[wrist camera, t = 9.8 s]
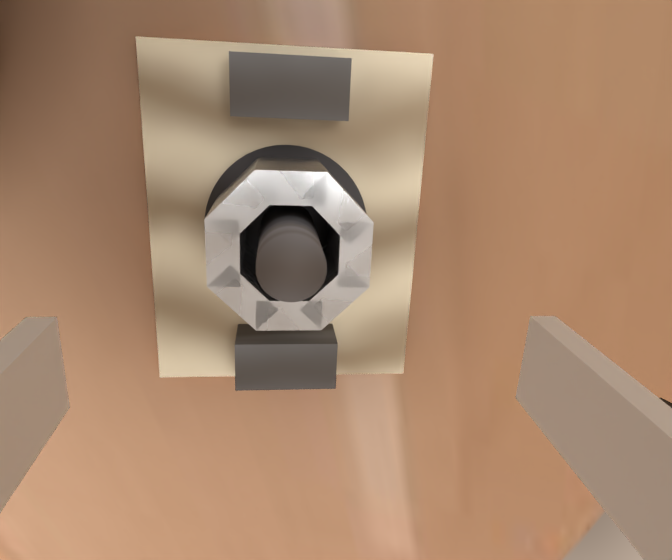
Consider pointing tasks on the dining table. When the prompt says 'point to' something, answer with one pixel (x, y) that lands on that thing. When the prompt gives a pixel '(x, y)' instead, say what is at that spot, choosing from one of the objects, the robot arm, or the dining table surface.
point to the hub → (240, 259)
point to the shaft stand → (280, 220)
